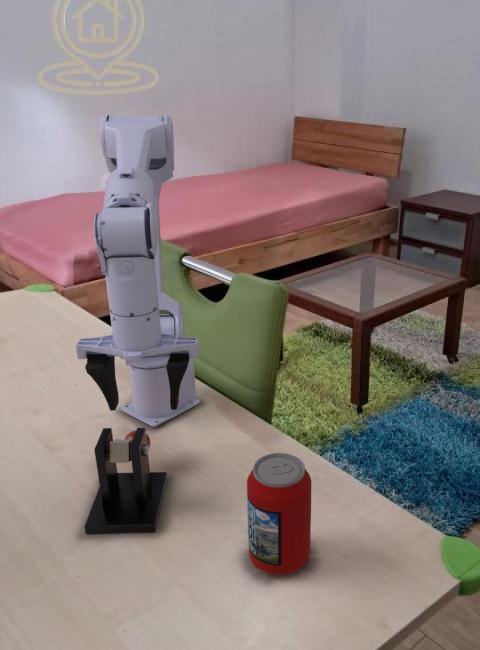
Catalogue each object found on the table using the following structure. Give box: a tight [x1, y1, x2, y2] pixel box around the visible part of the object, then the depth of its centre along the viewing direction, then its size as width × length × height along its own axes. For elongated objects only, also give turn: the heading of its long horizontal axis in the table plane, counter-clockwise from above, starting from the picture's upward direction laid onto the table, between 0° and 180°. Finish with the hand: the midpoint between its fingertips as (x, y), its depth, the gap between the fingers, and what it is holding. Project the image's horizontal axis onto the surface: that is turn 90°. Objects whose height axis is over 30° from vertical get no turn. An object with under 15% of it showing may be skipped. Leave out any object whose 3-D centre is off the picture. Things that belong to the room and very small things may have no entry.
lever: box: [110, 429, 151, 464], centre depth 79 cm, size 12×3×3 cm, turn 3°
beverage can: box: [246, 452, 312, 576], centre depth 67 cm, size 7×7×12 cm
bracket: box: [84, 427, 168, 535], centre depth 76 cm, size 10×8×10 cm
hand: (144, 406), depth 81 cm, fingers open, 7 cm apart
